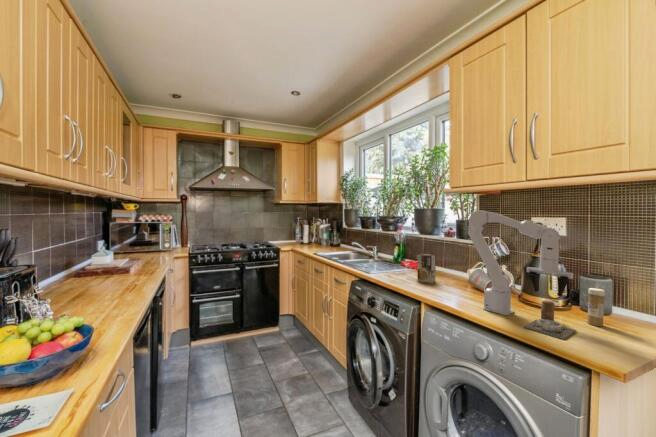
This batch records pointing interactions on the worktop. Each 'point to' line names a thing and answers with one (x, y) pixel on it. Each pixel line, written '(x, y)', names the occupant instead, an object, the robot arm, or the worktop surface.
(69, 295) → the worktop surface
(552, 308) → the walnut peg
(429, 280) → the coffee box
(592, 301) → the sprinkles bottle
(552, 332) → the cup bracket
